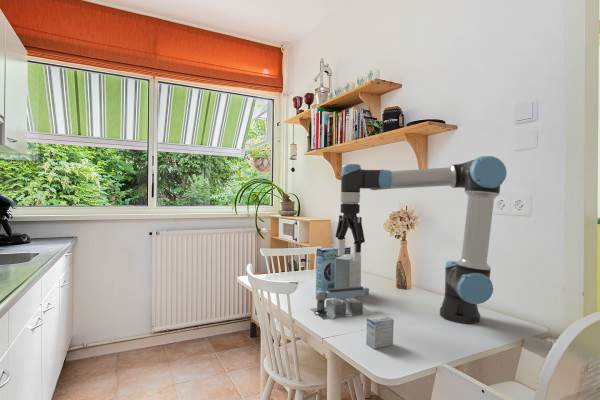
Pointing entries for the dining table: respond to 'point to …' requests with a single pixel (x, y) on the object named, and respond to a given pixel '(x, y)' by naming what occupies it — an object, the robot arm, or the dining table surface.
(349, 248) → the blue printed carton
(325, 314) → the server tray
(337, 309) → the power supply block
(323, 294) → the cable arm
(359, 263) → the hard drive box
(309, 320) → the dining table surface
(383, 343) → the medicine box
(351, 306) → the block
